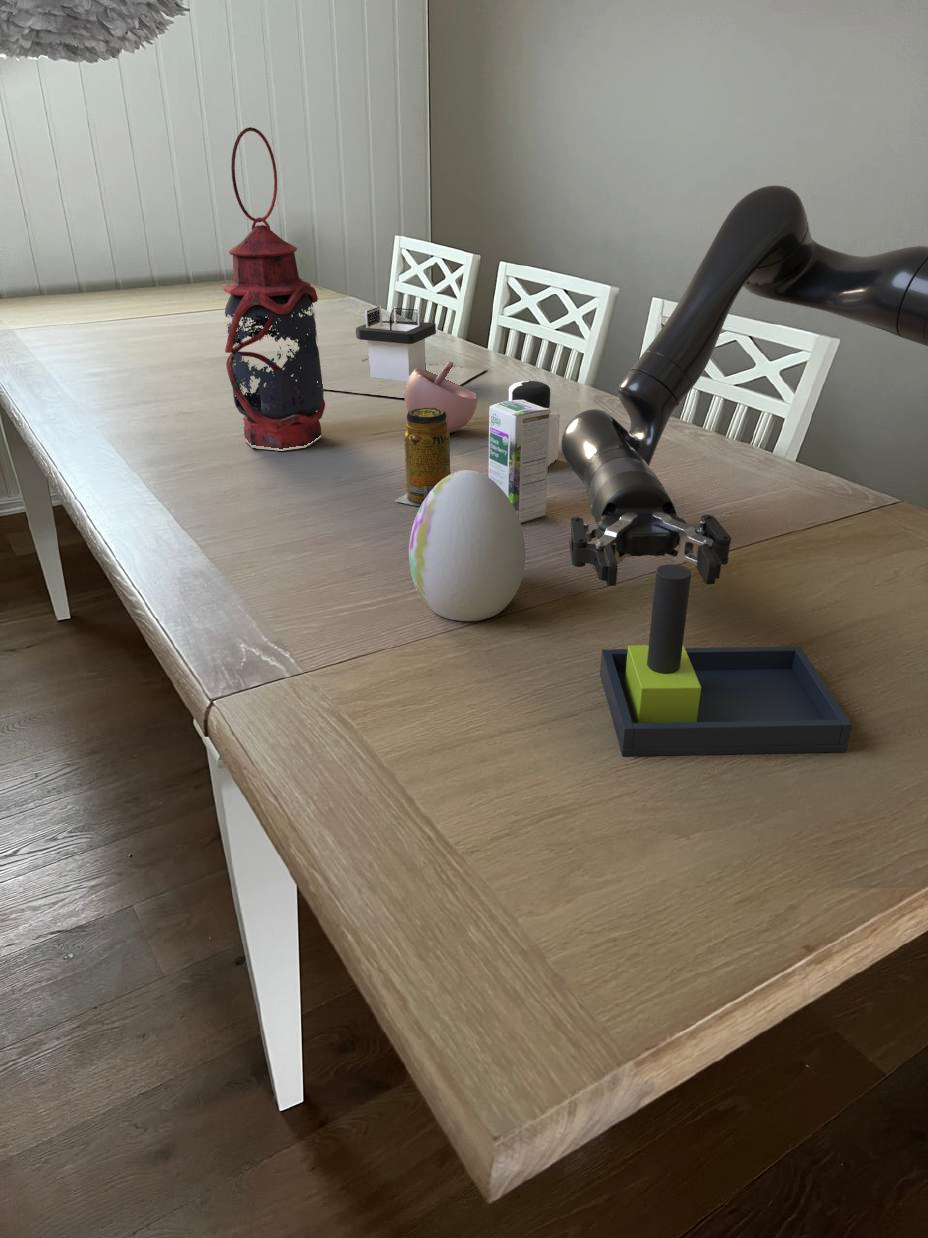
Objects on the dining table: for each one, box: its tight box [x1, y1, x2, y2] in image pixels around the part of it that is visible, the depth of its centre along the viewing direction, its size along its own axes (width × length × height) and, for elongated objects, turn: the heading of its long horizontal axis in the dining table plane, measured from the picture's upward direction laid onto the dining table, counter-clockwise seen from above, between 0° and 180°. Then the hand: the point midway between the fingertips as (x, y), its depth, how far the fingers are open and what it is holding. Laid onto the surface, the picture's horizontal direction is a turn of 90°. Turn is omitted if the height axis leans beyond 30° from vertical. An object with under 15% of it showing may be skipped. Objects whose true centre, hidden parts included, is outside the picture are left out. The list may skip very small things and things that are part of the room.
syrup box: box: [487, 400, 551, 524], centre depth 118 cm, size 6×6×14 cm
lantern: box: [222, 126, 326, 449], centre depth 140 cm, size 16×15×45 cm
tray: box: [599, 645, 853, 757], centre depth 81 cm, size 19×13×3 cm
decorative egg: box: [408, 469, 526, 622], centre depth 96 cm, size 12×12×15 cm
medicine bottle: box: [508, 380, 561, 467], centre depth 137 cm, size 7×7×12 cm
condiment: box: [394, 407, 452, 507], centre depth 124 cm, size 7×8×12 cm
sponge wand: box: [625, 563, 701, 723], centre depth 78 cm, size 5×7×13 cm
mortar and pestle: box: [404, 361, 479, 434], centre depth 151 cm, size 12×12×12 cm
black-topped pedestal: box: [355, 305, 437, 381], centre depth 181 cm, size 28×26×13 cm
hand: (662, 575), depth 79 cm, fingers open, 8 cm apart
